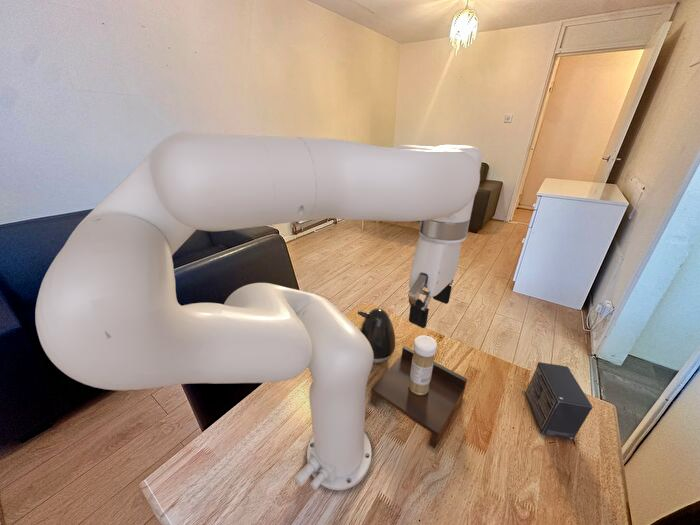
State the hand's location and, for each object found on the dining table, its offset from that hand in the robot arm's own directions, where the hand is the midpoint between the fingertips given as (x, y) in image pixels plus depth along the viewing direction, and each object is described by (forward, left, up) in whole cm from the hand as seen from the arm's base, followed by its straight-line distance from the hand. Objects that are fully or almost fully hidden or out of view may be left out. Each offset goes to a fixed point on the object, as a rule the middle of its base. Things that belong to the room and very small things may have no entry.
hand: (429, 311), depth 54 cm
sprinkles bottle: (0, 0, -21) cm, 21 cm away
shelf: (0, 0, -26) cm, 26 cm away
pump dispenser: (+6, +16, -26) cm, 31 cm away
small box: (+16, -24, -26) cm, 39 cm away
